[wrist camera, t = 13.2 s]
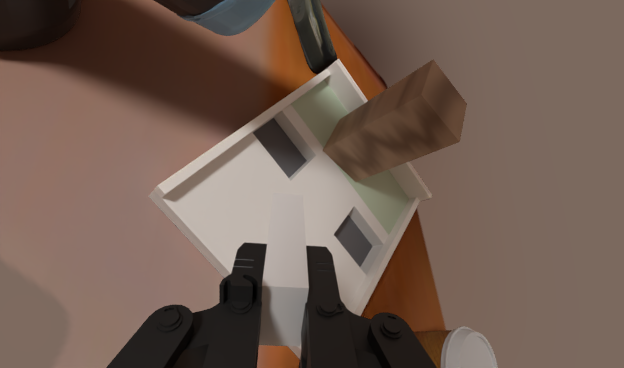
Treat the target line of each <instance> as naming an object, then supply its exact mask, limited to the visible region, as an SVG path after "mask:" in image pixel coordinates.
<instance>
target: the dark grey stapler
mask: <svg viewBox="0 0 624 368" xmlns="http://www.w3.org/2000/svg"><path fill="white" fill-rule="evenodd" d="M287 1H288V4H289V6H290V9H291V13H292V16H293V19H294V23H295V26H296V29H297V31H298V35H299V38H300V42H301V45H302V49H303V52H304V55H305V58H306V61H307V64H308V66H309V67H310V69H311V70H312V71H313V72H315V73H321V72H323V71H324V70H325V69H327V68H328V67H329V66H330V65H331V64H333V63H334V62H335V61H336V60H337V55H336V53H335V50H334V47H333V44H332V41H331V38H330V34H329V31H328V28H327V25H326V22H325V19H324V14H323V10H322V6H321V2H320V0H287Z"/></svg>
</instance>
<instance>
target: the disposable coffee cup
mask: <svg viewBox="0 0 624 368" xmlns="http://www.w3.org/2000/svg"><path fill="white" fill-rule="evenodd" d="M413 333H414V334H415V336H416V337H417V339H418V340H419V342H420V343H421V345H422V346H423V347H424V349H425V350H426V352H427V353H428V355H429V356H430V358H431V359H432V361H433V362H434V364H435V365H436V367H437V368H498V366H497V362H496V359H495V355H494V352H493V350H492V348H491V345H490V344H489V342H488V341H487V339H486V338H485V337H484V336H483V335H482V334H480V333H478V332H475V331H473V330H472V329H470V328H468V327H459V328H457V329H454V330H450V331H426V332H413Z"/></svg>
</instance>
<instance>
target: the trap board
mask: <svg viewBox="0 0 624 368" xmlns="http://www.w3.org/2000/svg"><path fill="white" fill-rule="evenodd" d="M366 102H368V100H367V99H366V97H365V96H364V95H363V93H362V92H361V90H360V89H359V87H358V86H357V84H356V83H355V81H354V80H353V79H352V77H351V76H350V74H349V73H348V71H347V70H346V68H345V67H344V65H343V64H342V63H341V61H340V60H339V59H338V60H336V61H335V62H334V63H333V64H331V65H330V66H329V67H328V68H327V69H325V70H324V71H323V72H321V73H320V74H318V75H317V76H315V77H314V78H312V79H311V80H310V81H308V82H307V83H305V84H304V85H302V86H301V87H299V88H298V89H297V90H295V91H294V92H292V93H291V94H289V95H288V96H286V97H285V98H283V99H282V100H281V101H279V102H278V103H276V104H275V105H273V106H272V107H270V108H269V109H268V110H266V111H265V112H263V113H262V114H260V115H259V116H257V117H256V118H255V119H253V120H252V121H250V122H249V123H247V124H246V125H244V126H243V127H242V128H240V129H239V130H237V131H236V132H234V133H233V134H231V135H230V136H229V137H227V138H226V139H224V140H223V141H221V142H220V143H218V144H217V145H215V146H214V147H213V148H211V149H210V150H208V151H207V152H205V153H204V154H202V155H201V156H200V157H198V158H197V159H195V160H194V161H192V162H191V163H189V164H188V165H187V166H185V167H184V168H182V169H181V170H179V171H178V172H176V173H175V174H174V175H172V176H171V177H169V178H168V179H166V180H165V181H163V182H162V183H161V184H159V185H158V186H157V187H156V188H155V189H154V190H153V192H152V193H151V194H150V195H149V197H150V198H151V199H152V201H153V202H154V203H155V204H156V205H157V206H158V207H159V208H160V209H161V210H162V211H163V212H164V213H165V215H166V216H167V217H168V218H169V219H170V220H171V221H172V222H173V223H174V224H175V225H176V226H177V227H178V229H179V230H180V231H181V232H182V233H183V234H184V235H185V236H186V237H187V238H188V239H189V240H190V241H191V243H192V244H193V245H194V246H195V247H196V248H197V249H198V250H199V251H200V252H201V253H202V254H203V256H204V257H205V258H206V259H207V260H208V261H209V262H210V263H211V264H212V265H213V266H214V267H215V268H216V270H217V271H218V272H219V273H220V274H221V275H222V276H223V277H224V278H225V277H226V276H228V275H230V274H231V272H232V269H233V265H234V261H235V257H236V253H237V250H238V248H239V247H240V246H241V245H242V244H243V243H244V242H246V243H262V244H267V241H268V233H269V225H270V217H271V208H272V200H273V193H283V194H295V195H303V206H304V221H305V237H306V246H322V247H327V248H328V250H329V251H330V252H331V254H332V256H333V261H334V267H335V272H336V278H337V283H338V289H339V294H340V299H341V301H342V302H343V303H344V304H345V306H346V308H347V309H348V310H349V311H351V312H352V313H354V314H356V315H358V316H361V314H362V312H363V310H364V308H365V306H366V304H367V303H368V301H369V299H370V297H371V295H372V293H373V291H374V289H375V287H376V285H377V283H378V281H379V279H380V278H381V276H382V274H383V272H384V270H385V268H386V266H387V264H388V262H389V260H390V258H391V256H392V254H393V253H394V251H395V249H396V247H397V245H398V243H399V241H400V239H401V237H402V235H403V233H404V231H405V229H406V227H407V226H408V224H409V222H410V220H411V218H412V216H413V214H414V212H415V210H416V208H417V206H418V204H419V202H420V201H424V200H427V199H431V197H432V194H431V192H430V191H429V189H428V188H427V186H426V185H425V183H424V182H423V181H422V179H421V178H420V176H419V175H418V173H417V172H416V170H415V169H414V167H413V166H412V165H411V163H410V162H406V163H404V164H401V165H398V166H396V167H393V168H391V169H388V170H386V171H383V172H380V173H378V174H375V175H373V176H370V177H367V178H365V179H362V180H360V181H357V182H355V181H354V180H353V179H352V178H351V177H350V176H349V175H348V174H347V173H345V172H344V171H343V170H342V169H341V168H340V167H339V166H338V165H337V164H336V163H335V162H334V161H333V160H332V159H331V158H330V157H329V156H328V155H327V154H326V153H325V152H323V151H322V150H323V148H324V147H325V145H326V143H327V141H328V139H329V138H330V136H331V134H332V132H333V130H334V129H335V127H336V125H337V123H338V121H339V119H341V118H343V117H344V116H346V115H347V114H349V113H350V112H352V111H353V110H355V109H357V108H358V107H360V106H361V105H363V104H364V103H366ZM288 347H289V348H290V349H291V350H292V351H293V353H294V354H295V355H296V356H297V357H298V358H299V359H300V357H301V344H300V346H288Z"/></svg>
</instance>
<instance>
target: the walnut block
mask: <svg viewBox="0 0 624 368" xmlns="http://www.w3.org/2000/svg"><path fill="white" fill-rule="evenodd" d="M466 105H467V103H466V102H465V101H464V99H463V98H462V97H461V95H460V94H459V93H458V91H457V90H456V89H455V87H454V86H453V85H452V84H451V82H450V81H449V80H448V78H447V77H446V76H445V74H444V73H443V72H442V70H441V69H440V68H439V66H438V65H437V64H436V62H435V61H434V60H431V61H430V62H428V63H427V64H425V65H424V66H422V67H421V68H419V69H417V70H416V71H414V72H413V73H411V74H410V75H408V76H406V77H405V78H404V79H402V80H400V81H399V82H397V83H396V84H394V85H392V86H391V87H389V88H388V89H386V90H385V91H383V92H382V93H380V94H378V95H377V96H375V97H374V98H372V99H371V100H369V101H368V102H366V103H364V104H363V105H361V106H360V107H358V108H357V109H355V110H353V111H352V112H350V113H349V114H347V115H346V116H344V117H343V118H341V119H339V121H338V123H337V125H336V127H335V129H334V130H333V132H332V134H331V136H330V138H329V139H328V141H327V143H326V145H325V147H324V148H323V150H322V151H323V152H325V153H326V154H327V155H328V156H329V157H330V158H331V159H332V160H333V161H334V162H335V163H336V164H337V165H338V166H339V167H340V168H341V169H342V170H343V171H344V172H345V173H347V174H348V175H349V176H350V177H351V178H352V179H353V180H354V181H355V182H357V181H360V180H362V179H365V178H367V177H370V176H373V175H375V174H378V173H380V172H383V171H386V170H388V169H391V168H393V167H396V166H398V165H401V164H404V163H406V162H409V161H411V160H414V159H417V158H419V157H421V156H424V155H427V154H429V153H432V152H434V151H437V150H440V149H442V148H445V147H448V146H450V145H453V144H455V143H458V142H459V141H460V137H461V132H462V126H463V121H464V116H465V110H466Z"/></svg>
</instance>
